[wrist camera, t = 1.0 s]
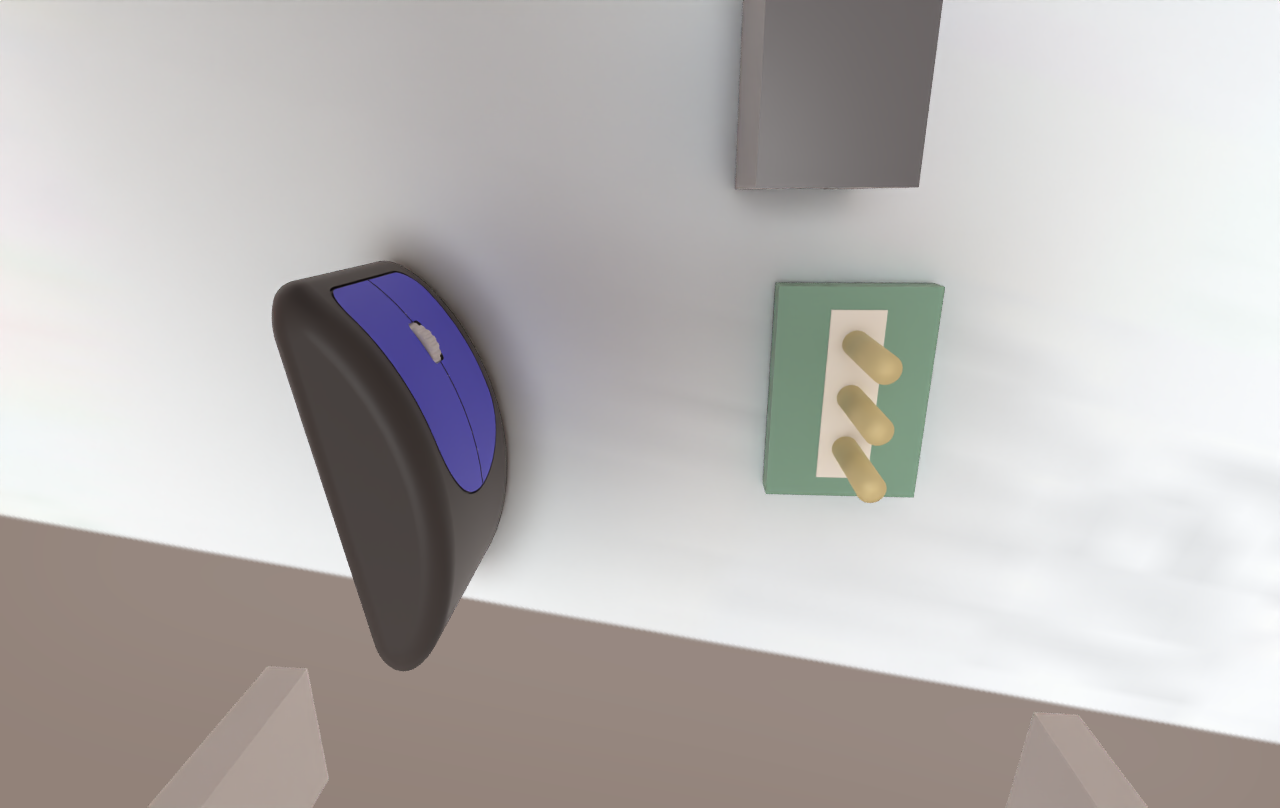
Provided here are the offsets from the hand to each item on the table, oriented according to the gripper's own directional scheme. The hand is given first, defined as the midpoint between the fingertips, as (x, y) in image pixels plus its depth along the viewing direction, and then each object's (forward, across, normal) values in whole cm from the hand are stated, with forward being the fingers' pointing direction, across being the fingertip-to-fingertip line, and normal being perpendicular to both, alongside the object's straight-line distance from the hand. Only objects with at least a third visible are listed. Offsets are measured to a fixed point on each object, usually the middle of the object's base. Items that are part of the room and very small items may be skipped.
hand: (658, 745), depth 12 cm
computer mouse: (+20, -12, -2) cm, 24 cm away
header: (+20, +8, +1) cm, 22 cm away
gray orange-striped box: (+20, +5, +14) cm, 25 cm away
